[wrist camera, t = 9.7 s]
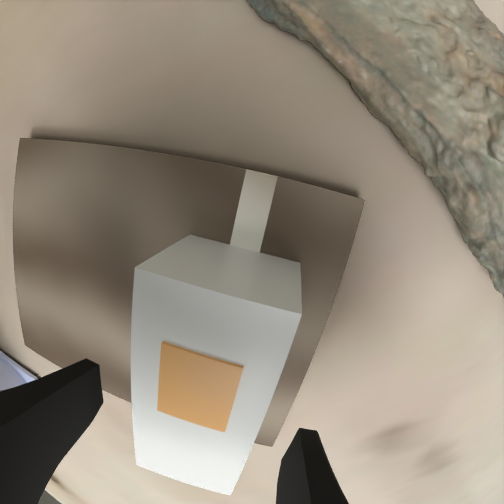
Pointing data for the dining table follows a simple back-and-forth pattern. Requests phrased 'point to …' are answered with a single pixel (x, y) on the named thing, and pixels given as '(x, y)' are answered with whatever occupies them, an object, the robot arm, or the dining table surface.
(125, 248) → the subfloor panel
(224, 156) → the dining table surface
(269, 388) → the block
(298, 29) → the long grey stone
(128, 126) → the dining table surface
